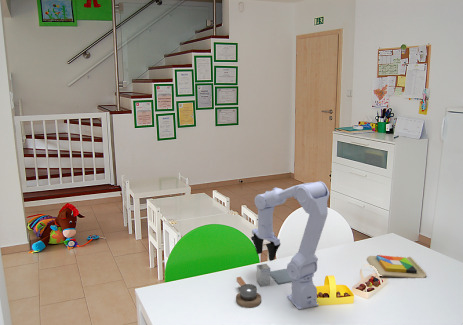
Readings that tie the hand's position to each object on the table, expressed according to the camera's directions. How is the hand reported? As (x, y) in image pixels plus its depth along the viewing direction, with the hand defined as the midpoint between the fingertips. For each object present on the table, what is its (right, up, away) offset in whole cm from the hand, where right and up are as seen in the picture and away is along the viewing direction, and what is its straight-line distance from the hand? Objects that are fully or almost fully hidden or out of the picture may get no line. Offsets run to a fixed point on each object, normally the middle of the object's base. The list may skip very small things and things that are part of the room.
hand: (265, 256), depth 162 cm
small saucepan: (-8, -10, -11) cm, 17 cm away
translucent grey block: (-1, -10, -1) cm, 10 cm away
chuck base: (-7, -13, -14) cm, 20 cm away
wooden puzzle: (+54, -8, +9) cm, 56 cm away
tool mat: (+8, -9, +3) cm, 12 cm away
